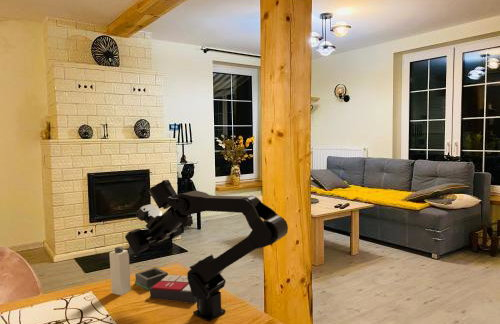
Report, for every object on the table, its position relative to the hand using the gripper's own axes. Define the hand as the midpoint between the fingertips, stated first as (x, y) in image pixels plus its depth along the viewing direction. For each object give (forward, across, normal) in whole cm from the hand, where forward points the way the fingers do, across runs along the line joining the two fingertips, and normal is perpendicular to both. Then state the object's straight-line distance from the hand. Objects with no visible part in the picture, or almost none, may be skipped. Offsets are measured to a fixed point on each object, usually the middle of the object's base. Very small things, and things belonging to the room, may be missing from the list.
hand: (140, 248), depth 112 cm
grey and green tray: (+12, -8, +9) cm, 17 cm away
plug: (+15, +1, +7) cm, 17 cm away
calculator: (+2, -7, +18) cm, 19 cm away
